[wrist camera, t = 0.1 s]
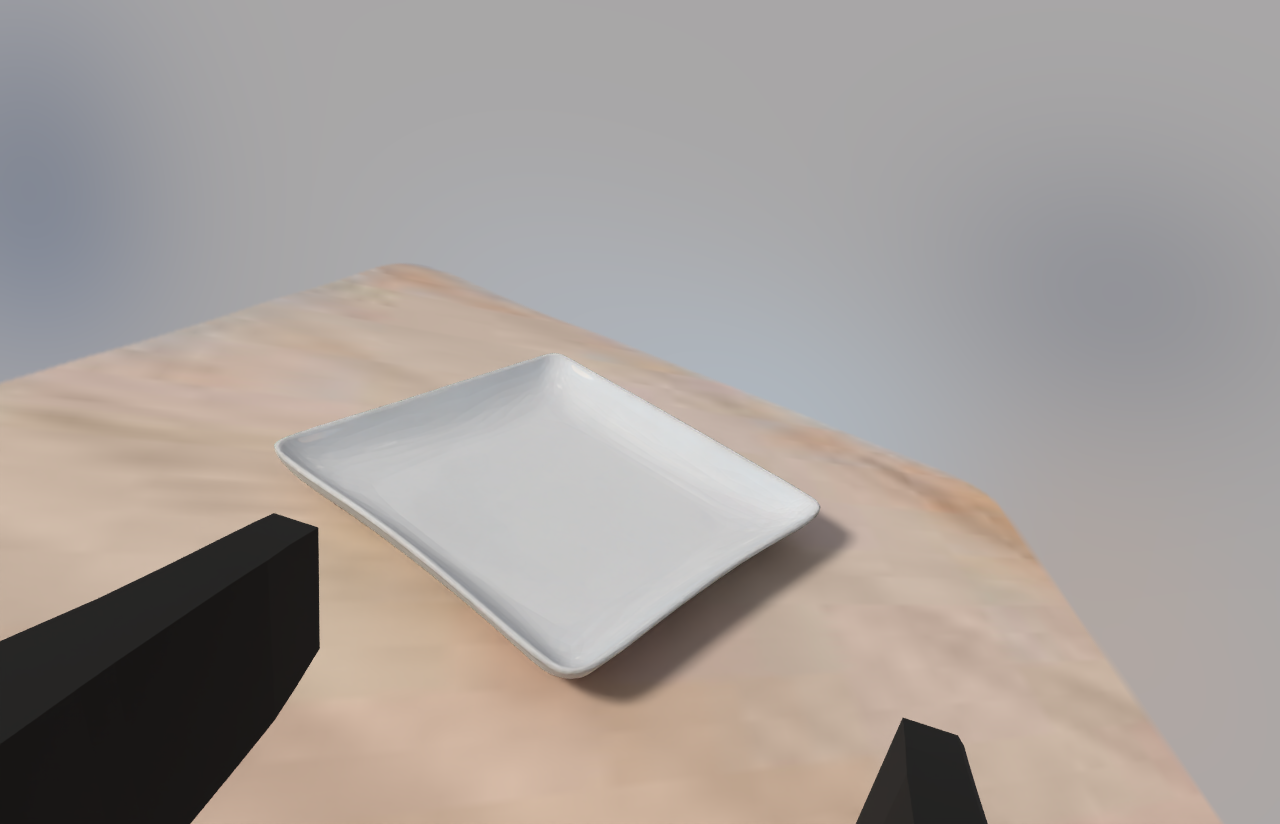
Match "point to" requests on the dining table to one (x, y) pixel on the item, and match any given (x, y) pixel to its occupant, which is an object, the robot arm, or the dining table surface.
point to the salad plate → (551, 503)
